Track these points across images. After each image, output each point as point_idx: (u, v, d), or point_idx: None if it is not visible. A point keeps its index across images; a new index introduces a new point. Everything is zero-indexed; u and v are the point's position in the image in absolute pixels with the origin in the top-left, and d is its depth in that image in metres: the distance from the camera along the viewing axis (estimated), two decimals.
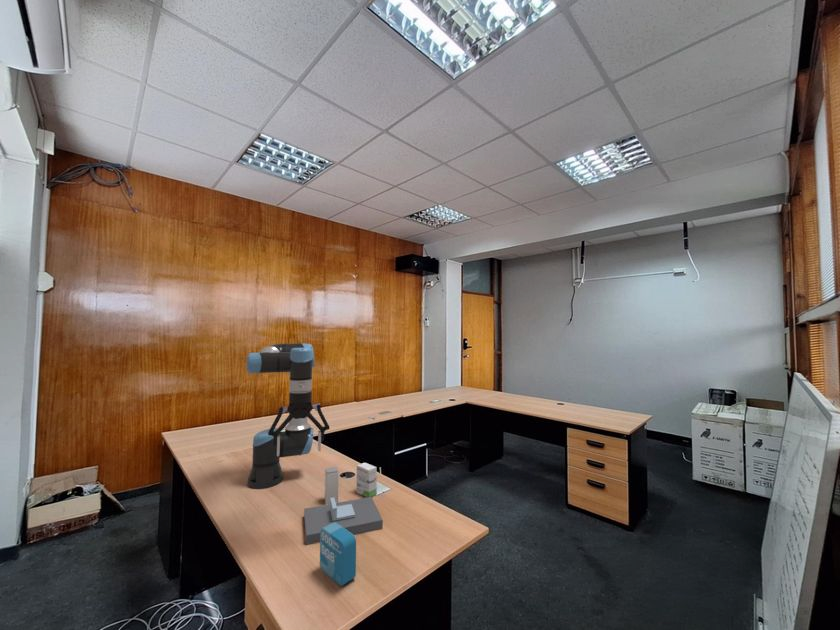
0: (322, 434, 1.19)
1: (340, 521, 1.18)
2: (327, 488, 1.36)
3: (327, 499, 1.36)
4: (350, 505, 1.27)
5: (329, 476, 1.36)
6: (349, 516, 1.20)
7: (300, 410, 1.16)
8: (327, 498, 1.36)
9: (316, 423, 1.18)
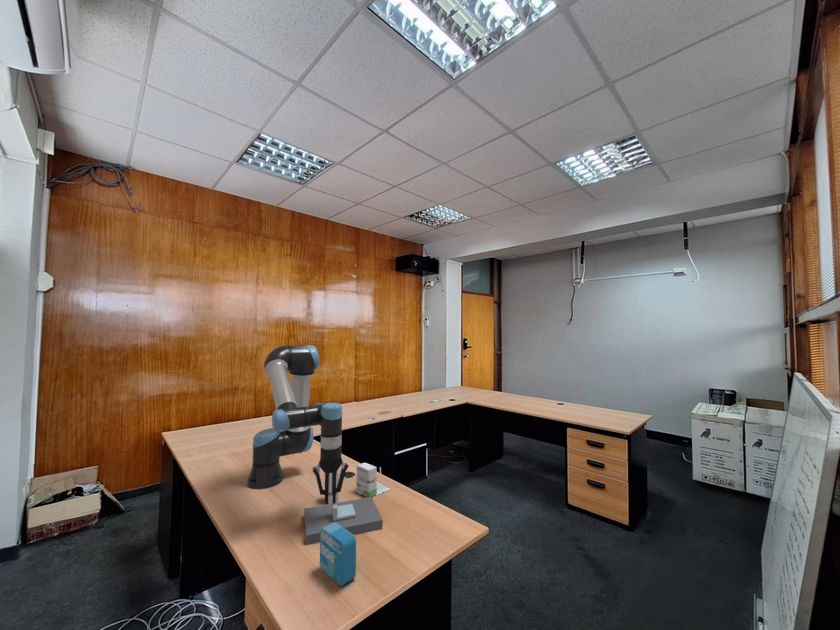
0: (333, 496, 1.21)
1: (340, 521, 1.18)
2: None
3: None
4: (351, 505, 1.27)
5: (329, 476, 1.36)
6: (350, 516, 1.20)
7: (332, 463, 1.21)
8: None
9: (334, 483, 1.21)
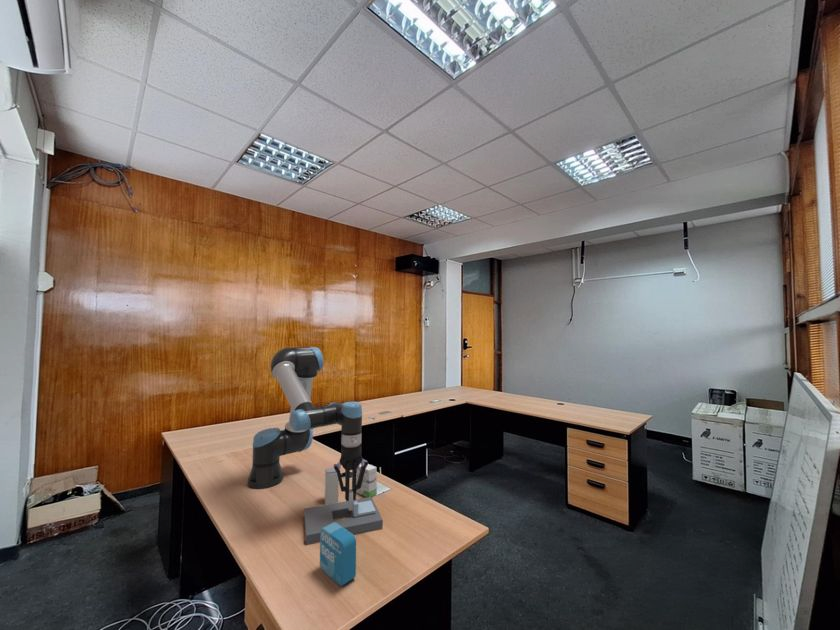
0: (354, 493, 1.24)
1: (340, 521, 1.18)
2: (327, 488, 1.36)
3: (327, 499, 1.36)
4: (370, 501, 1.29)
5: (329, 476, 1.36)
6: (370, 512, 1.22)
7: (352, 460, 1.24)
8: (327, 498, 1.36)
9: (354, 480, 1.24)
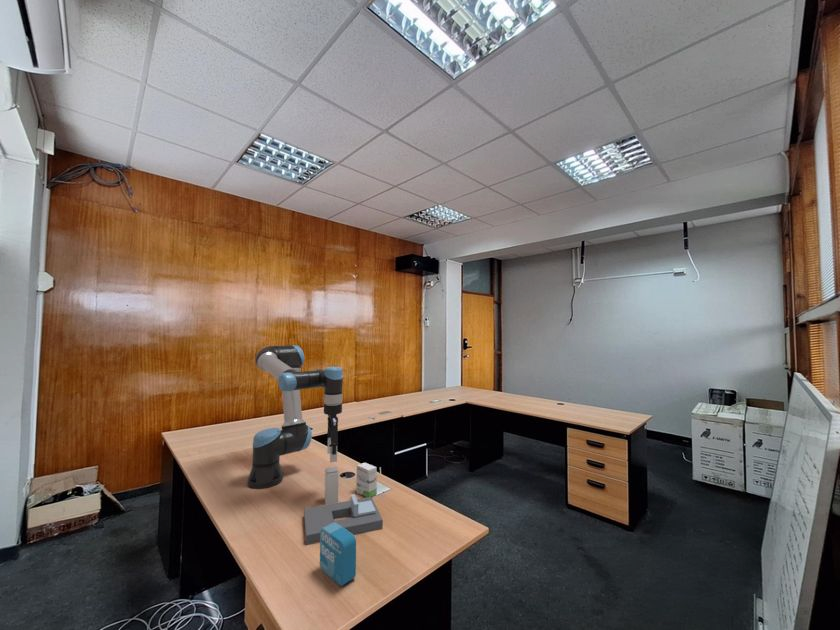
0: (332, 448, 1.34)
1: (340, 521, 1.18)
2: (327, 488, 1.36)
3: (327, 499, 1.36)
4: (370, 501, 1.29)
5: (329, 476, 1.36)
6: (370, 512, 1.22)
7: (330, 418, 1.40)
8: (327, 498, 1.36)
9: None
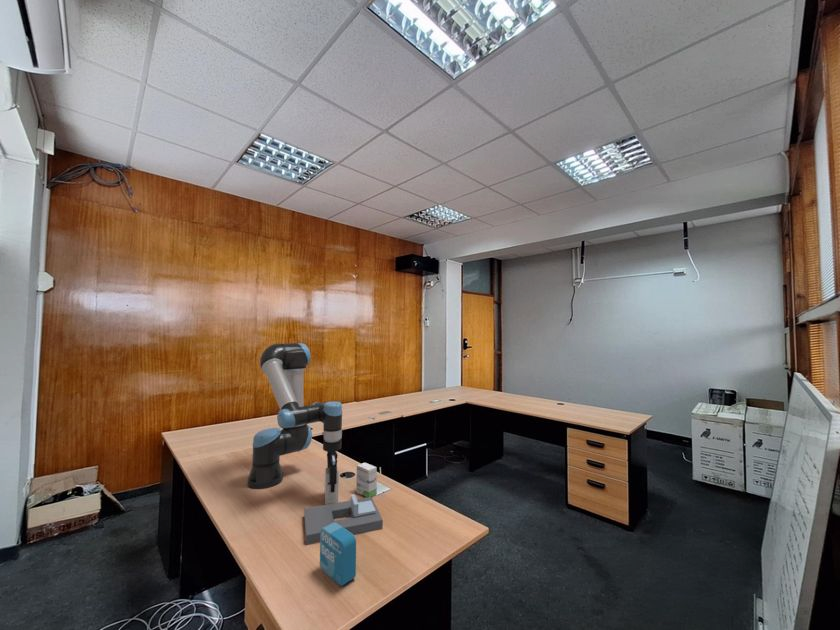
0: (331, 486, 1.35)
1: (340, 521, 1.18)
2: (327, 488, 1.36)
3: (327, 499, 1.36)
4: (370, 501, 1.29)
5: (329, 476, 1.36)
6: (370, 512, 1.22)
7: (329, 454, 1.39)
8: (327, 498, 1.36)
9: None
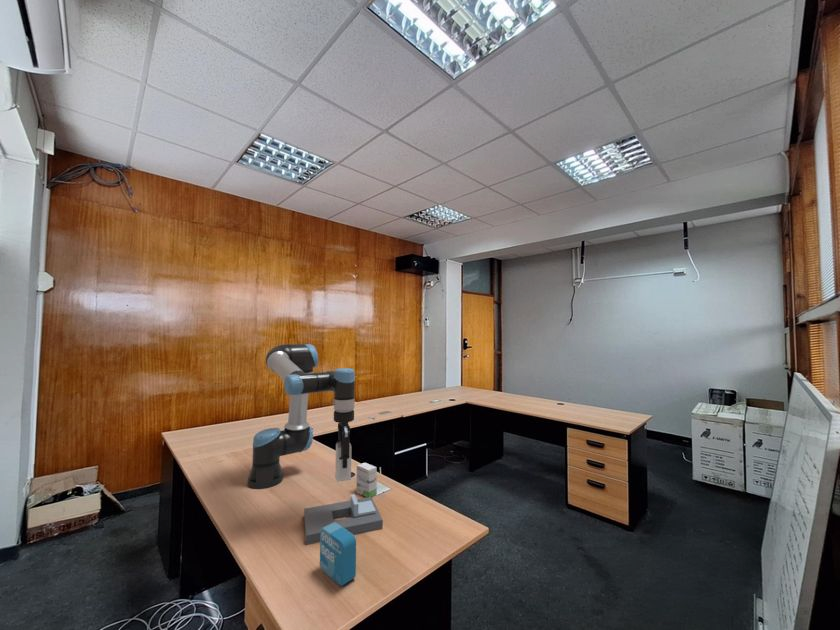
0: (342, 461, 1.20)
1: (340, 521, 1.18)
2: (339, 463, 1.21)
3: (339, 476, 1.20)
4: (370, 501, 1.29)
5: None
6: (370, 512, 1.22)
7: (340, 426, 1.24)
8: (339, 475, 1.20)
9: (341, 447, 1.21)
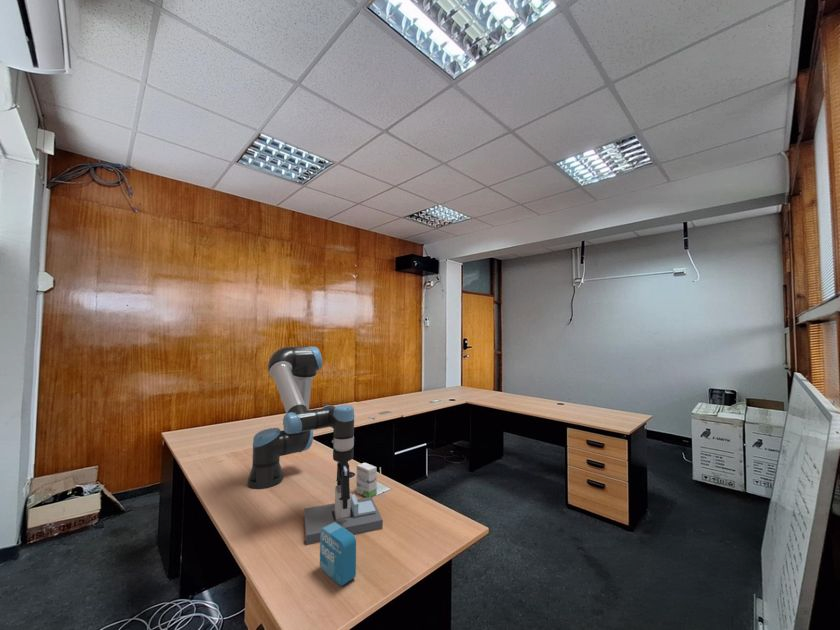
0: (343, 502, 1.17)
1: (340, 521, 1.18)
2: (338, 509, 1.20)
3: None
4: (370, 501, 1.29)
5: (340, 496, 1.20)
6: (370, 512, 1.22)
7: (340, 465, 1.23)
8: None
9: (341, 487, 1.19)
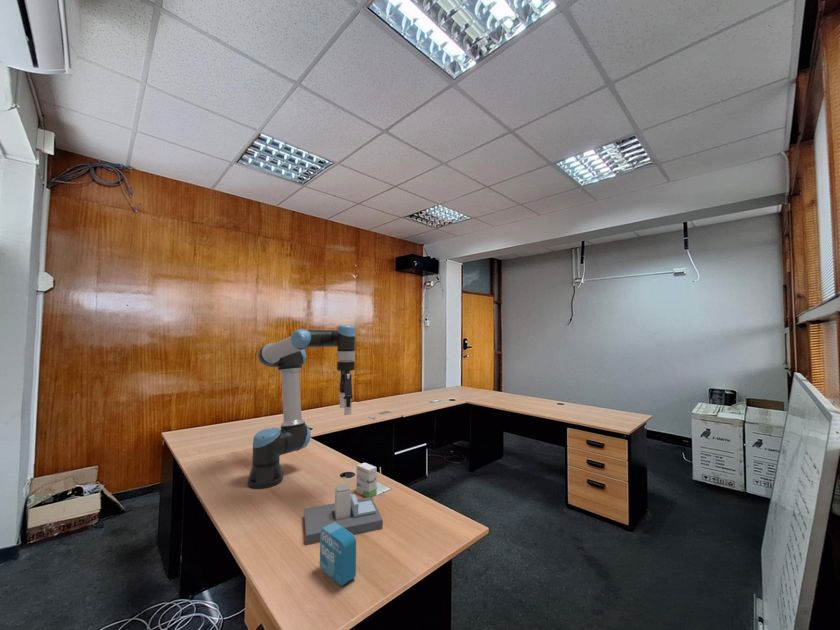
0: (346, 401, 1.34)
1: (340, 521, 1.18)
2: (338, 509, 1.20)
3: None
4: (370, 501, 1.29)
5: (340, 496, 1.20)
6: (370, 512, 1.22)
7: None
8: None
9: (344, 390, 1.36)
